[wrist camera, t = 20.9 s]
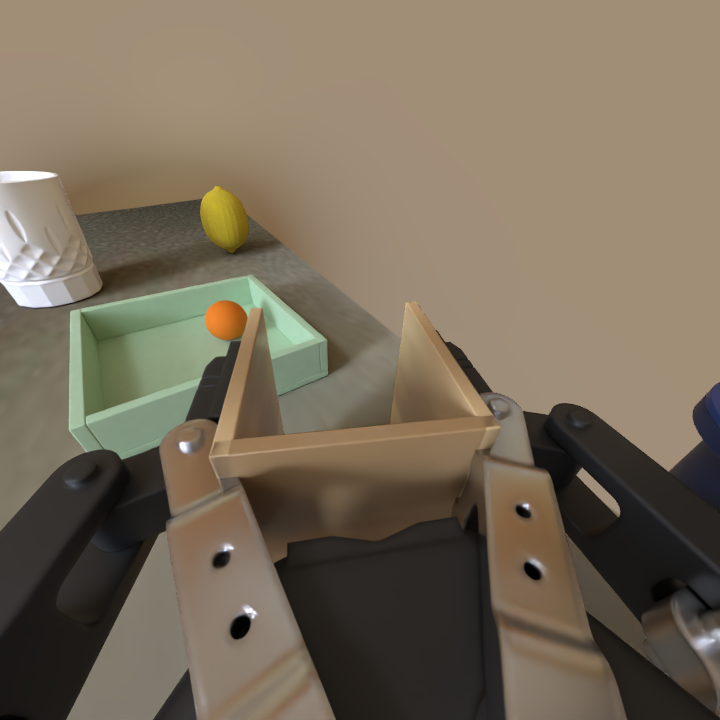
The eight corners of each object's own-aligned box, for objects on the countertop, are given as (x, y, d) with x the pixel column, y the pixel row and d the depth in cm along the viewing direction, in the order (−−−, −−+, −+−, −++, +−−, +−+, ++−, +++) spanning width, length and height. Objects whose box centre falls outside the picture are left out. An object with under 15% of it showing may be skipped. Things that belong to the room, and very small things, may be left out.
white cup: (121, 275, 34) (75, 171, 28) (91, 307, 28) (24, 183, 22) (37, 280, 33) (-31, 170, 27) (-15, 315, 27) (-118, 183, 21)
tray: (257, 303, 30) (252, 274, 28) (328, 375, 22) (327, 339, 20) (90, 345, 24) (69, 310, 22) (100, 470, 15) (68, 430, 13)
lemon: (202, 252, 42) (184, 185, 37) (239, 244, 45) (226, 181, 40) (224, 262, 39) (207, 191, 34) (261, 253, 42) (251, 186, 37)
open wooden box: (429, 586, 12) (502, 427, 6) (273, 614, 11) (207, 457, 6) (392, 454, 17) (416, 300, 11) (281, 467, 16) (250, 306, 10)
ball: (210, 329, 25) (187, 317, 22) (235, 301, 25) (216, 286, 22) (236, 351, 24) (217, 342, 22) (261, 323, 25) (245, 310, 22)
